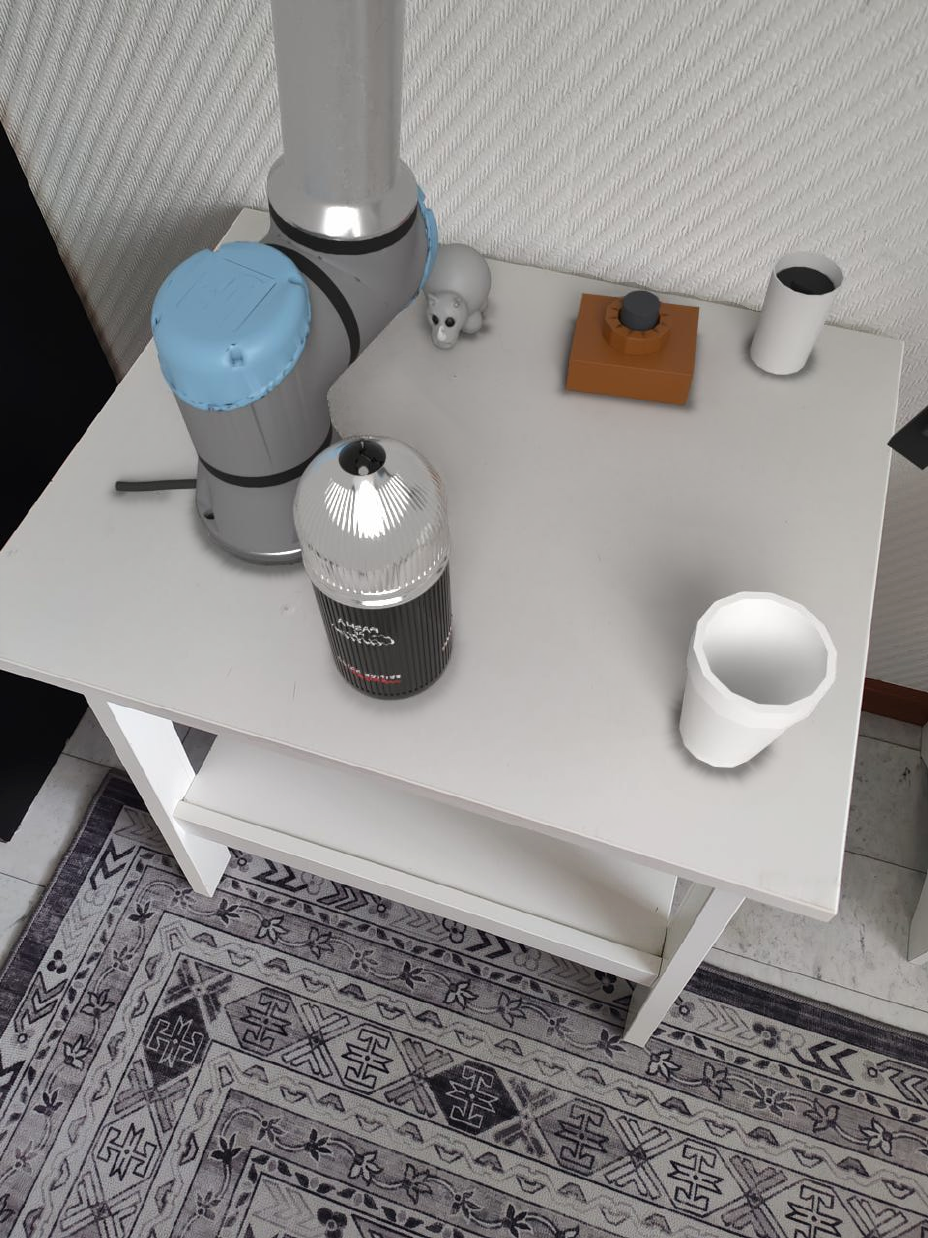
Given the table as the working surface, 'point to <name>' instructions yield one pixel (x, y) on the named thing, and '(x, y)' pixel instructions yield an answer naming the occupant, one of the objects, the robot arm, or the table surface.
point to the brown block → (633, 352)
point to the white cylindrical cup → (795, 310)
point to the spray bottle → (378, 563)
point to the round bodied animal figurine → (456, 293)
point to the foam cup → (752, 675)
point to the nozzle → (640, 310)
